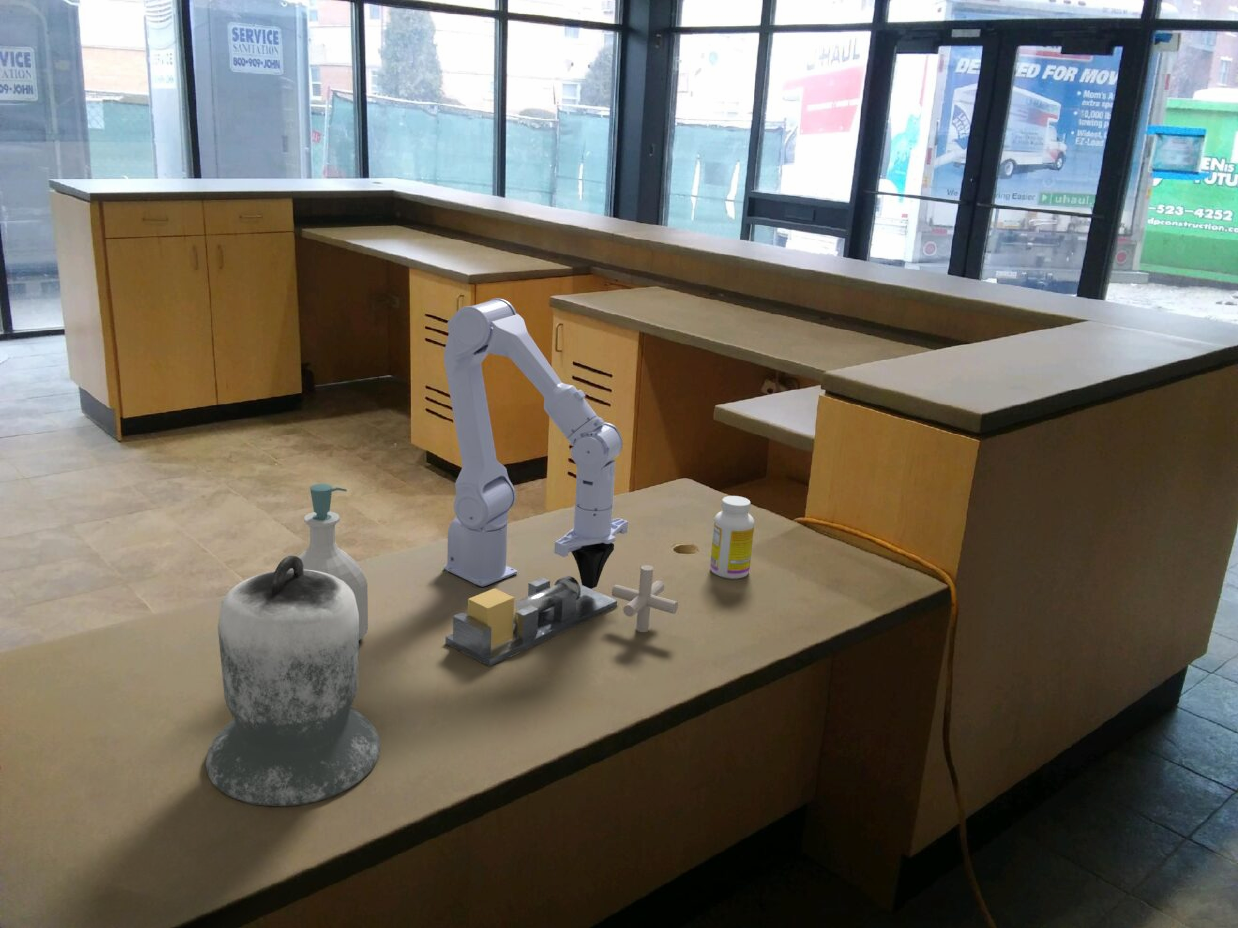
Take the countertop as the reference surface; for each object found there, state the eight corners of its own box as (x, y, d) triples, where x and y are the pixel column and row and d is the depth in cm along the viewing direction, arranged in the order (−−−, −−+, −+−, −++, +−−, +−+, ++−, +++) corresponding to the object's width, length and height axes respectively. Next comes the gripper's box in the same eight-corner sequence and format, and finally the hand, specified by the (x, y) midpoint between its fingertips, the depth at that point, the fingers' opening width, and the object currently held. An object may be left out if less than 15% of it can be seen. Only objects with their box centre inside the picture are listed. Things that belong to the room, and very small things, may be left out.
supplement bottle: (755, 570, 182) (763, 500, 178) (738, 583, 176) (746, 511, 172) (720, 560, 185) (727, 490, 181) (702, 572, 180) (709, 501, 176)
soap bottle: (374, 640, 151) (372, 488, 144) (314, 662, 144) (308, 504, 137) (335, 615, 157) (332, 469, 150) (276, 636, 150) (269, 483, 143)
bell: (407, 727, 131) (407, 539, 123) (329, 823, 113) (323, 610, 105) (266, 698, 135) (257, 514, 127) (169, 786, 117) (152, 578, 109)
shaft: (496, 624, 155) (497, 599, 154) (560, 596, 165) (561, 572, 164) (515, 633, 153) (516, 608, 151) (580, 604, 163) (581, 580, 161)
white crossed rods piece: (596, 633, 157) (600, 571, 154) (627, 608, 165) (632, 548, 162) (657, 652, 153) (663, 588, 150) (686, 625, 161) (692, 564, 158)
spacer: (467, 637, 151) (468, 598, 149) (493, 625, 155) (494, 588, 153) (486, 647, 149) (487, 608, 147) (512, 635, 152) (514, 597, 150)
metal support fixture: (445, 642, 151) (445, 612, 150) (573, 587, 171) (575, 559, 170) (489, 666, 146) (490, 634, 145) (616, 606, 166) (618, 577, 164)
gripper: (580, 523, 154) (576, 608, 159) (644, 500, 165) (638, 580, 169) (545, 509, 159) (542, 592, 163) (610, 487, 169) (605, 566, 174)
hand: (589, 585), depth 166 cm, fingers closed
